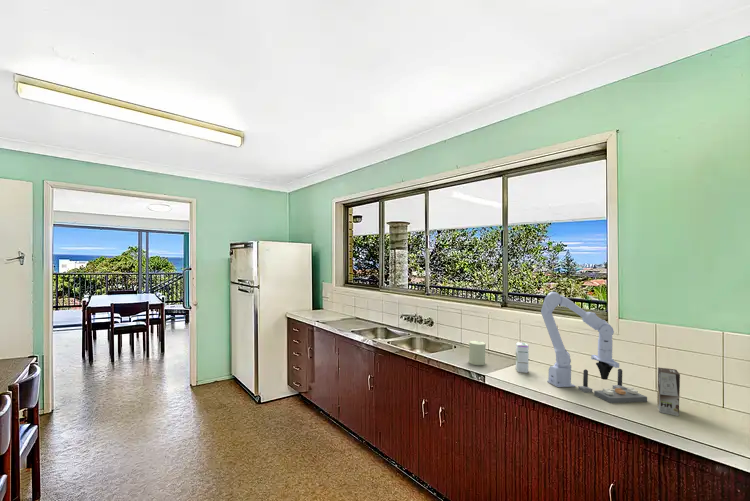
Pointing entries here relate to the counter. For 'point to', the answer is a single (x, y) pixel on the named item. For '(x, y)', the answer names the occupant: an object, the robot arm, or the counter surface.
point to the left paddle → (608, 391)
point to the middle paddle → (620, 391)
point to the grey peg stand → (585, 383)
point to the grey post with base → (619, 381)
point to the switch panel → (620, 397)
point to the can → (477, 352)
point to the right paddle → (632, 391)
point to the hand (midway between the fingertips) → (604, 379)
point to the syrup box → (522, 357)
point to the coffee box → (668, 391)
